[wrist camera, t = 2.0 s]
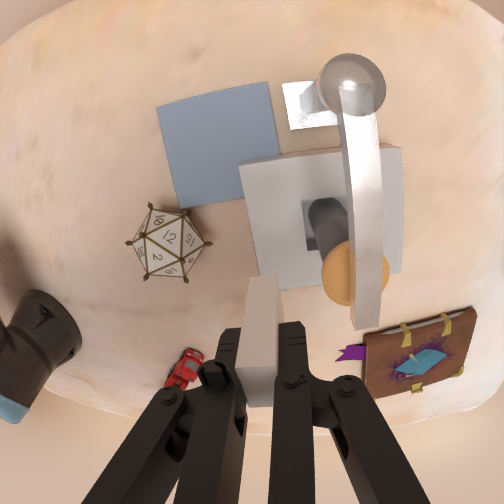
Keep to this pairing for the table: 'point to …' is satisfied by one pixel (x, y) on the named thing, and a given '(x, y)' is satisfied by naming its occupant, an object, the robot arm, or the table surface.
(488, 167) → the table surface
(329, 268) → the plug
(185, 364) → the toy fire truck
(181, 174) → the pad
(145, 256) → the game die
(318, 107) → the post
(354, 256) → the silver ball-ended lever
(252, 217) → the socket block
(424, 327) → the book
